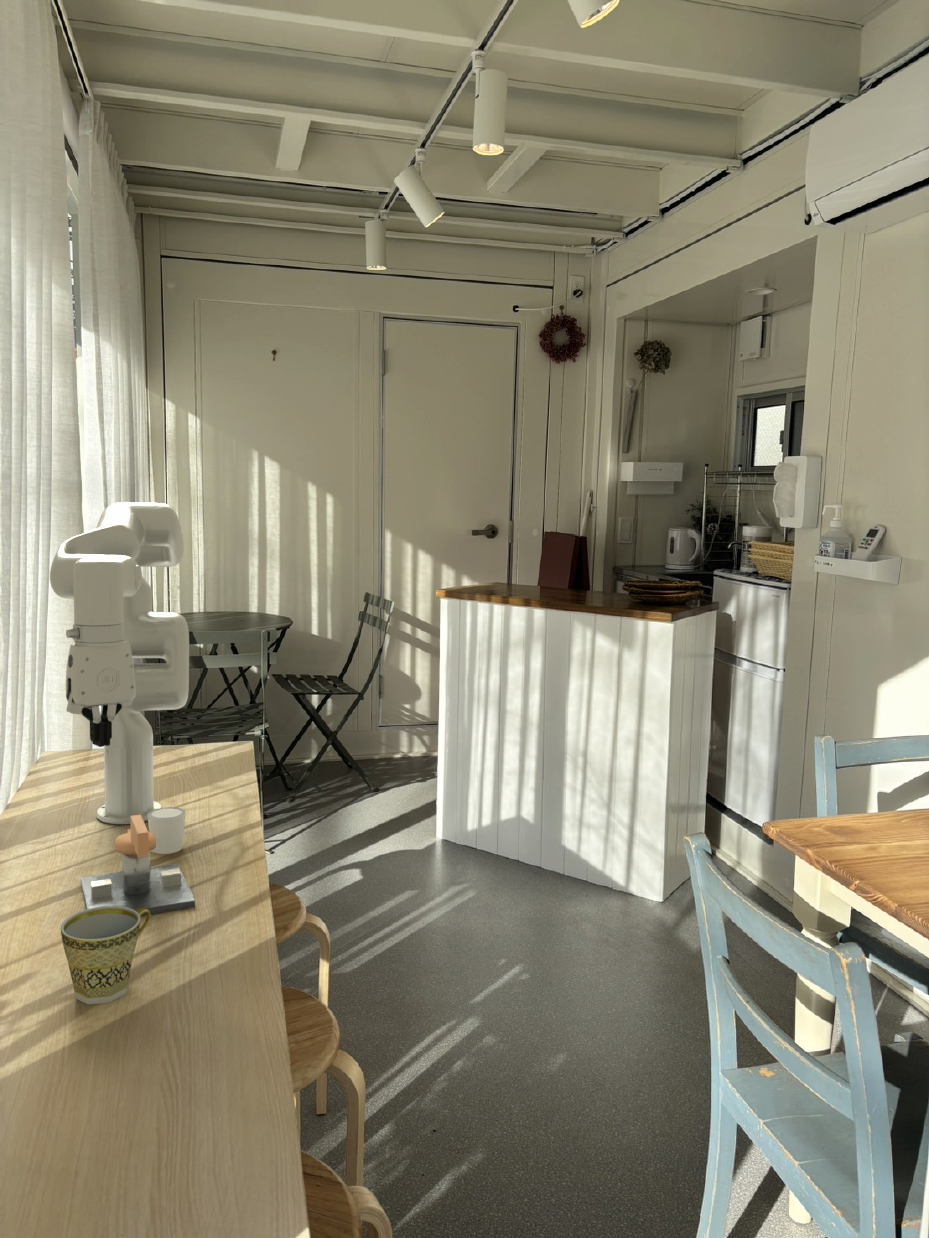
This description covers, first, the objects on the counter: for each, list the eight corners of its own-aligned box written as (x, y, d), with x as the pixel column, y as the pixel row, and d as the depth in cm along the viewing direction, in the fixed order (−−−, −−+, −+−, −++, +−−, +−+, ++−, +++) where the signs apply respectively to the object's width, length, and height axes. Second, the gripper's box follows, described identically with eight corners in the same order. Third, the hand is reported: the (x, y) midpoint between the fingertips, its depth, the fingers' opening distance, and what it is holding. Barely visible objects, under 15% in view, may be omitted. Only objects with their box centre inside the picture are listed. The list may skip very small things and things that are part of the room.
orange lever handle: (111, 839, 157) (111, 807, 156) (151, 834, 160) (150, 802, 159) (122, 870, 145) (121, 835, 144) (164, 864, 148) (164, 830, 147)
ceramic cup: (94, 1020, 119) (92, 947, 118) (46, 996, 124) (44, 925, 123) (174, 977, 130) (173, 910, 129) (127, 956, 135) (126, 891, 134)
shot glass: (174, 857, 171) (174, 820, 170) (140, 852, 173) (140, 816, 172) (192, 843, 178) (192, 808, 177) (159, 839, 179) (159, 804, 178)
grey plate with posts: (80, 884, 158) (79, 838, 157) (177, 870, 166) (177, 826, 164) (89, 924, 144) (88, 874, 143) (195, 907, 151) (194, 859, 150)
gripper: (63, 640, 143) (65, 757, 145) (153, 633, 154) (154, 741, 156) (43, 635, 148) (45, 747, 150) (131, 628, 159) (132, 733, 161)
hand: (101, 744), depth 153 cm, fingers closed
